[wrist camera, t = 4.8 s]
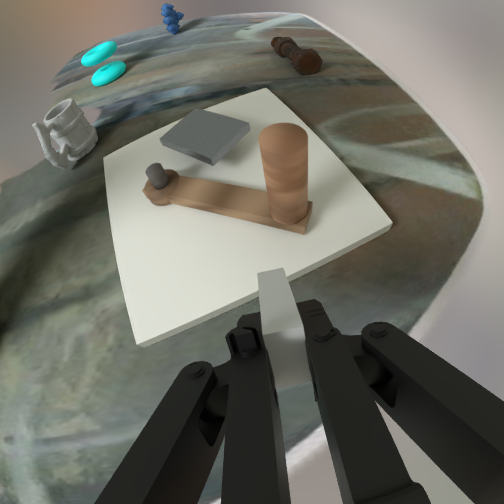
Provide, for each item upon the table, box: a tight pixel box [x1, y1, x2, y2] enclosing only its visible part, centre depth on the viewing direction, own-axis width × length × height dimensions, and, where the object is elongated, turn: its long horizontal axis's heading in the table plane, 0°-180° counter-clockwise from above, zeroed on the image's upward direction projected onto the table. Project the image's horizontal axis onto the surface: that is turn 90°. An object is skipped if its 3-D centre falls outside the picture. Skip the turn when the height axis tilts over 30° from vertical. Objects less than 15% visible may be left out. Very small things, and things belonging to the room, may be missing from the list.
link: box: [142, 123, 313, 235], centre depth 27 cm, size 19×4×10 cm, turn 69°
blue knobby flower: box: [161, 4, 184, 34], centre depth 65 cm, size 12×7×12 cm, turn 6°
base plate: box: [103, 88, 393, 347], centre depth 34 cm, size 28×30×2 cm
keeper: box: [160, 108, 250, 166], centre depth 35 cm, size 9×7×5 cm
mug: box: [32, 98, 98, 170], centre depth 39 cm, size 8×12×12 cm, turn 177°
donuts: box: [81, 41, 126, 86], centre depth 56 cm, size 10×10×10 cm
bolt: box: [271, 37, 322, 75], centre depth 48 cm, size 6×5×15 cm
